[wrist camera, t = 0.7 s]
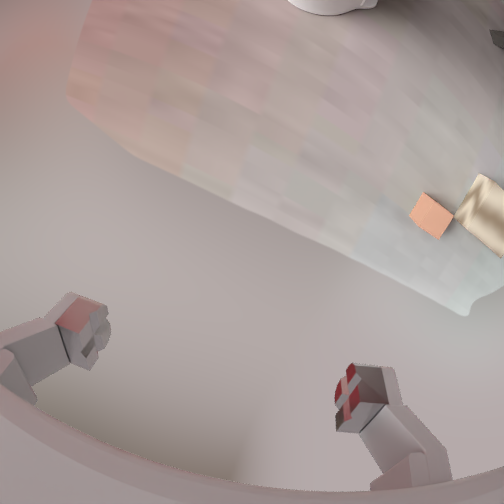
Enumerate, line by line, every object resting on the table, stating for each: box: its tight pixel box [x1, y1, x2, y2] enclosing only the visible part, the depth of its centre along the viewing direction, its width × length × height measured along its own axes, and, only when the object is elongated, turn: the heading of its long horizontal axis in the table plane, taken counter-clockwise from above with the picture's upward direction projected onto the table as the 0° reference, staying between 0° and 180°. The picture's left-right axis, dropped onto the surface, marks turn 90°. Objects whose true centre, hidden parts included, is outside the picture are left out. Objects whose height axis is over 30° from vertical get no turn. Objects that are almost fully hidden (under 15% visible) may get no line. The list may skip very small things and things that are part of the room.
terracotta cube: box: [409, 192, 454, 240], centre depth 45 cm, size 5×5×5 cm
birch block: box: [454, 174, 504, 258], centre depth 42 cm, size 10×12×6 cm
